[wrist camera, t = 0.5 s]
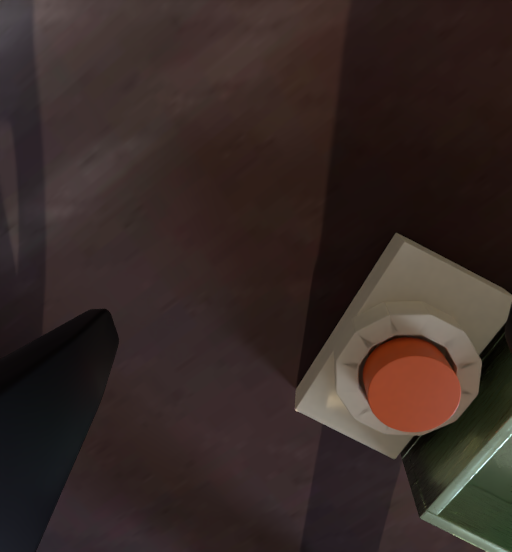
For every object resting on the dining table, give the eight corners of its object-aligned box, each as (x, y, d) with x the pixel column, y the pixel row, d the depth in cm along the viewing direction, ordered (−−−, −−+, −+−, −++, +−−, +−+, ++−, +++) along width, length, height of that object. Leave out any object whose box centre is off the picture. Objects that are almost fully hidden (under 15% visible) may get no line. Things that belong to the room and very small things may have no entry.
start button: (417, 421, 23) (427, 446, 21) (347, 386, 22) (350, 408, 21) (465, 360, 21) (481, 381, 19) (391, 322, 21) (399, 340, 19)
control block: (390, 436, 27) (403, 484, 23) (293, 388, 27) (291, 428, 23) (505, 289, 23) (543, 318, 20) (393, 230, 23) (410, 248, 19)
